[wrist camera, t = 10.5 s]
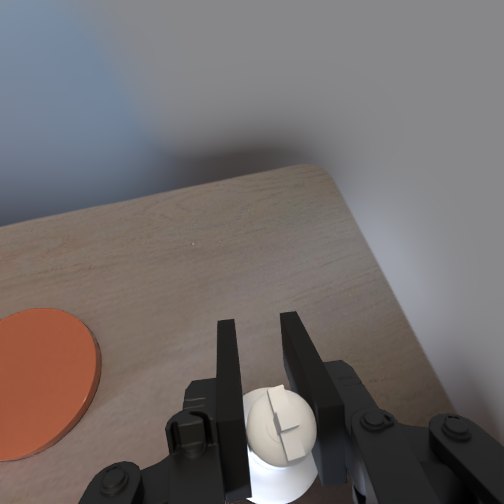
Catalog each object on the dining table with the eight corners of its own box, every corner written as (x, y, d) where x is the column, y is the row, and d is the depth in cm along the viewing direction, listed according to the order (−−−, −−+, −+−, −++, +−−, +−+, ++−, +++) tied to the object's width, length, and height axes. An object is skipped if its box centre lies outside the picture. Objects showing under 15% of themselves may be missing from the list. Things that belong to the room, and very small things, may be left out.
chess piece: (233, 522, 15) (208, 593, 7) (208, 404, 18) (167, 347, 9) (338, 484, 16) (436, 505, 7) (300, 376, 18) (341, 298, 10)
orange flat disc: (124, 396, 29) (119, 394, 28) (-27, 498, 26) (-39, 500, 25) (71, 289, 34) (66, 284, 33) (-61, 362, 31) (-72, 359, 30)
